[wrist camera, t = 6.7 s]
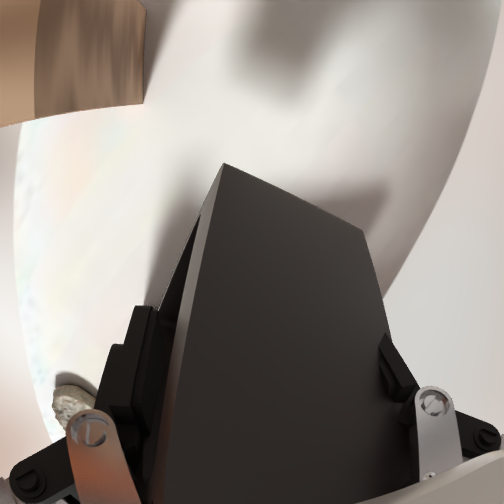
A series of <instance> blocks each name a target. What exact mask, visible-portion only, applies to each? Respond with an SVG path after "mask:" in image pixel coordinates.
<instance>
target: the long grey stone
mask: <svg viewBox="0 0 504 504" xmlns="http://www.w3.org/2000/svg"><path fill="white" fill-rule="evenodd" d="M53 396H54V397H53V403H52V408H53V410H54V412H55V414H56V416H55V418H56V419H57V420H58V421H59V423H60V425H61V426H63V429H64V430H65V431H66V426H67V423H68V421H69V420H70V418H71V417H72V416H73V415H74V414H76V413H77V412H79V411H82V410H85V409H93V408H94V404H95V400H96V399H95V398H94V397H93V396H91V395H89V394H88V393H87V392H85V391H84V390H82V389H81V388H80V387H78V386H75V385H63V386H60V387H57V388H56V389H55V390H54V392H53Z"/></svg>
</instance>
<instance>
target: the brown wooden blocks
mask: <svg viewBox="0 0 504 504" xmlns="http://www.w3.org/2000/svg"><path fill="white" fill-rule="evenodd" d="M145 22H146V9H145V8H144V7H143V6H142V4H141V3H140V2H139V1H138V0H0V128H1V127H5V126H8V125H13V124H17V123H21V122H25V121H30V120H34V119H39V118H44V117H49V116H54V115H60V114H66V113H72V112H78V111H85V110H92V109H99V108H107V107H116V106H126V105H135V104H143V60H144V37H145Z"/></svg>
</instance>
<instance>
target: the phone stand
mask: <svg viewBox="0 0 504 504" xmlns="http://www.w3.org/2000/svg"><path fill="white" fill-rule="evenodd" d="M158 311H159V316H160V324H161V331H162V337H163V344H164V350H165V356H166V363H165V368H164V372H163V376H162V381H161V386H160V390H159V395H158V400H157V404H156V409H155V414H154V419H153V424H152V429H151V434H150V435H149V434H145V433H144V434H143V440H142V450H141V458H140V461H139V464H138V467H137V470H136V473H135V481H136V484H137V486H138V489H139V491H140V494H141V496H142V499H143V502H144V504H356V503H359V502H363V501H367V500H370V499H373V498H376V497H380V496H383V495H386V494H389V493H392V492H395V491H398V490H400V489H401V487H402V486H403V485H404V484H406V483H407V482H408V481H409V480H410V479H411V478H410V459H409V440H408V433H407V432H406V431H405V430H404V429H403V427H402V426H401V425H400V424H399V423H398V420H397V418H398V416H399V413H400V411H401V408H402V405H403V403H398V402H393V399H392V397H387V395H386V391H385V387H384V383H383V379H382V375H381V371H380V367H379V364H378V363H379V361H380V359H381V357H382V356H381V353H380V350H379V346H378V345H379V343H380V341H381V339H382V337H383V335H384V333H385V332H386V334H387V335H388V337H389V338H390V340H391V341H392V339H391V335H390V330H389V325H388V321H387V317H386V313H385V309H384V305H383V301H382V297H381V293H380V289H379V285H378V281H377V278H376V274H375V271H374V267H373V264H372V260H371V257H370V253H369V250H368V247H367V243H366V240H365V237H364V234H363V231H362V230H361V229H359V228H357V227H355V226H353V225H351V224H349V223H347V222H346V221H344V220H342V219H340V218H338V217H336V216H334V215H332V214H330V213H328V212H326V211H324V210H322V209H320V208H319V207H317V206H315V205H313V204H311V203H309V202H307V201H305V200H303V199H301V198H299V197H296V196H294V195H292V194H290V193H288V192H286V191H284V190H282V189H280V188H278V187H276V186H274V185H272V184H270V183H267V182H265V181H263V180H261V179H259V178H257V177H255V176H252V175H250V174H248V173H246V172H244V171H241V170H239V169H237V168H235V167H233V166H230V165H228V164H226V163H223V164H222V166H221V168H220V170H219V172H218V174H217V176H216V178H215V180H214V182H213V184H212V186H211V188H210V191H209V193H208V195H207V197H206V199H205V201H204V203H203V206H202V208H201V210H200V212H199V214H198V217H197V219H196V221H195V223H194V226H193V228H192V230H191V232H190V235H189V237H188V239H187V241H186V244H185V246H184V248H183V251H182V253H181V255H180V258H179V260H178V263H177V266H176V268H175V270H174V272H173V274H172V277H171V279H170V281H169V284H168V286H167V289H166V291H165V294H164V296H163V299H162V301H161V304H160V306H159V309H158Z"/></svg>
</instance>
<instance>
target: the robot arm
mask: <svg viewBox="0 0 504 504" xmlns="http://www.w3.org/2000/svg"><path fill="white" fill-rule="evenodd" d="M378 346H379V350H380V353H381V356H382V357H381V359H380V361H379V363H378V364H379V367H380V371H381V375H382V379H383V383H384V387H385V391H386V395H387V397H392V399H393V402H398V403H403V405H402V408H401V411H400V413H399V416H398V418H397V420H398V423H399V424H400V425H401V426H402V427H403V429H404V430H405V431H406V432H407V433H408V440H409V459H410V478H411V479H410V480H409V481H408V482H407V483H406V484H404V485H403V486H402V487H401V489H400V490H398V491H395V492H392V493H389V494H386V495H383V496H380V497H376V498H373V499H370V500H367V501H363V502H359V503H356V504H504V434H502V435H501V436H500V433H499V432H498V430H497V429H496V428H495V427H494V426H493V425H491V424H489V423H487V422H484V421H482V420H479V419H476V418H474V417H471V416H469V415H466V414H464V413H461V412H459V411H456V410H455V409H454V404H453V401H452V398H451V397H450V396H449V394H448V393H447V392H445V391H444V390H442V389H440V388H438V387H434V386H426V387H423V388H421V389H420V387H419V385H418V384H417V382H416V380H415V378H414V377H413V375H412V373H411V372H410V370H409V369H408V367H407V365H406V364H405V362H404V360H403V359H402V357H401V356H400V354H399V352H398V351H397V349H396V348H395V346H394V345H393V343H392V341H391V340H390V338H389V337H388V335H387V334H386V332H385V333H384V335H383V337H382V339H381V341H380V343H379V345H378ZM165 363H166V356H165V350H164V344H163V337H162V331H161V324H160V316H159V311H158V310H153V307H152V306H135V307H134V310H133V313H132V317H131V320H130V323H129V327H128V330H127V334H126V337H125V341H124V344H113V345H112V346H111V349H110V352H109V355H108V358H107V361H106V365H105V368H104V372H103V375H102V378H101V382H100V386H99V389H98V393H97V397H96V400H95V404H94V408H93V409H85V410H82V411H79V412H77V413H76V414H74V415H73V416H72V417H71V418H70V420H69V421H68V423H67V426H66V436H65V437H64V438H62V439H60V440H58V441H57V442H55V443H53V444H51V445H50V446H48V447H46V448H44V449H42V450H41V451H39V452H37V453H35V454H33V455H32V456H30V457H28V458H26V459H24V460H23V461H20V462H19V463H18V464H16V465H15V466H14V467H13V469H12V470H11V472H10V476H9V478H7V479H4V478H3V477H1V478H0V504H144V502H143V499H142V496H141V494H140V491H139V489H138V486H137V484H136V481H135V473H136V470H137V467H138V464H139V461H140V458H141V450H142V440H143V434H144V433H145V434H149V435H150V434H151V429H152V424H153V419H154V414H155V409H156V404H157V400H158V395H159V390H160V386H161V381H162V376H163V372H164V368H165Z"/></svg>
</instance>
